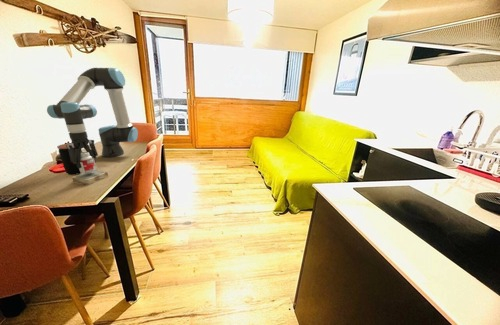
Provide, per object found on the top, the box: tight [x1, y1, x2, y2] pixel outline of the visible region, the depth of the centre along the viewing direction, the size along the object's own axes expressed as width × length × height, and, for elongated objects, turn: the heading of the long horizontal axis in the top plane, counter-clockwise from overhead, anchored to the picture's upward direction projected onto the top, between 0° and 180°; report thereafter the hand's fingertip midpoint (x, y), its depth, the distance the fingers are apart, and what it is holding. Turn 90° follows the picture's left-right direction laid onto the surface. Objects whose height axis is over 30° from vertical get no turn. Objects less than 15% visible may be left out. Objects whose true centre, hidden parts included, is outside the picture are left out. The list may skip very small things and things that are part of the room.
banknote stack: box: [71, 169, 109, 186], centre depth 119 cm, size 12×12×3 cm
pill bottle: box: [80, 151, 96, 173], centre depth 116 cm, size 6×6×11 cm
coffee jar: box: [57, 142, 83, 176], centre depth 127 cm, size 11×11×18 cm
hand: (88, 170), depth 118 cm, fingers closed on pill bottle, 6 cm apart
